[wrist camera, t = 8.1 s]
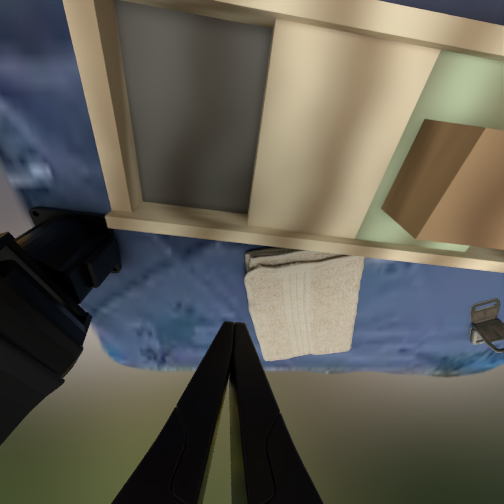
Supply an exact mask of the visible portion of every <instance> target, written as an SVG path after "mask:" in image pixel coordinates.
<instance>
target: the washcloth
mask: <svg viewBox="0 0 504 504" xmlns="http://www.w3.org/2000/svg"><path fill="white" fill-rule="evenodd" d="M364 259H365V257H361V256H352V255H343V254H334V253H325V252H317V251H308V250H299V249H290V248H281V247H274V248H268V249H261V250H255V251H251V252H247V253H246V254H245V262H246V269H247V272H248V273H247V274H246V275H245V278H244V283H245V287H246V291H247V298H248V303H249V312H250V314H251V318H252V321H253V324H254V327H255V331H256V336H257V338H258V341H259V343H260V347H261V352H262V355H263V358H264V359H265V360H266V361H274V360H281V359H283V360H284V359H289V358H292V357H295V356H302V355H307V354H314V355H317V354H318V355H320V354H328V353H330V354H331V353H338V352H344V351H348V350H349V349H350V348H351V346H350V345H351V343H352V337H353V336H352V335H353V331H354V328H353V327H354V323H355V317H356V314H357V312H356V309H357V302H358V299H359V298H358V292H359V289H360V279H361V278H362V271H364V270H363V268H364V265H363V263H364Z"/></svg>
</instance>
